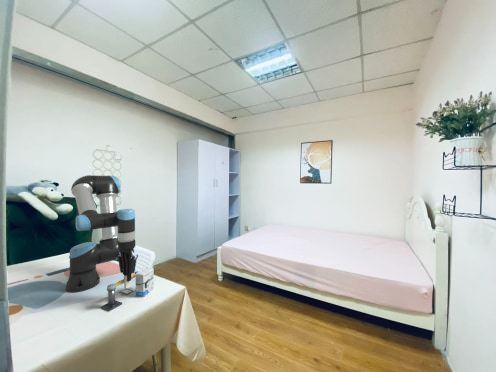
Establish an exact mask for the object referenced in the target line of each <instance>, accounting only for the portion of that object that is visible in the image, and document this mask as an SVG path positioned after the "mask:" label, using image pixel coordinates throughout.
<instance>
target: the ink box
mask: <svg viewBox="0 0 496 372" xmlns="http://www.w3.org/2000/svg"><path fill="white" fill-rule="evenodd" d="M154 269H155V268H153V267H148V266H147V267H144V268H142V269H141V270H139V271H136V272H137V273H136V277H135V297H140V298H141V297H142V298H144V297H146V295H147V296H148V294H150V293H151V292H152V291H153V290H154V289H155V287H154V283H155V282H154V281H155V280H154V274H155V273H154Z"/></svg>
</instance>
